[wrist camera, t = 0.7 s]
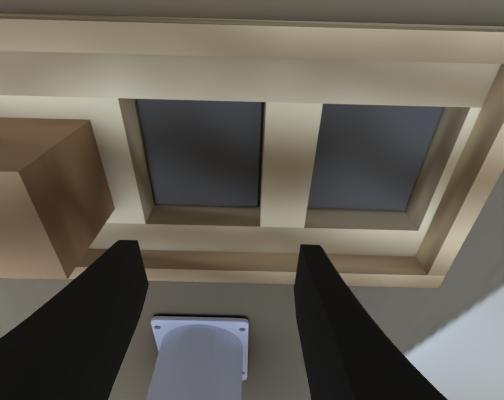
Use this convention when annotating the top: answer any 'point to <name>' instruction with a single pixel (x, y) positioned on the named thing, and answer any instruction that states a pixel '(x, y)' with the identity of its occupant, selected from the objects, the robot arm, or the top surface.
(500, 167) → the trap track
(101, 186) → the walnut block
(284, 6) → the top surface
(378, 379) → the robot arm
